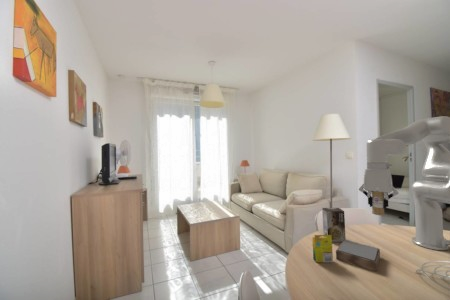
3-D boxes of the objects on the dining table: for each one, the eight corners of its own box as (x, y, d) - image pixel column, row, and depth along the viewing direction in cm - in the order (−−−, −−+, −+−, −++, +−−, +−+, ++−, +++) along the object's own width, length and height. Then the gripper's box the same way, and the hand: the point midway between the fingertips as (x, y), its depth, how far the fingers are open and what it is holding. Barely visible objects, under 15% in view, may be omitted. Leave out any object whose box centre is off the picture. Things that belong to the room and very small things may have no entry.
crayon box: (330, 259, 86) (329, 232, 86) (333, 262, 83) (332, 235, 83) (312, 258, 87) (312, 232, 87) (315, 262, 84) (314, 235, 84)
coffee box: (340, 236, 108) (339, 207, 108) (346, 242, 102) (345, 210, 102) (322, 236, 109) (321, 207, 109) (327, 241, 103) (326, 210, 103)
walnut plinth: (380, 257, 87) (379, 248, 87) (376, 271, 76) (376, 261, 76) (343, 247, 96) (343, 239, 96) (336, 259, 86) (336, 250, 86)
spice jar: (371, 214, 88) (371, 184, 88) (372, 212, 92) (371, 183, 92) (384, 216, 85) (384, 185, 85) (384, 214, 89) (384, 184, 89)
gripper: (402, 167, 86) (403, 208, 86) (356, 165, 97) (357, 202, 97) (402, 167, 80) (403, 212, 80) (353, 166, 92) (354, 205, 91)
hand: (378, 206), depth 89 cm, fingers closed on spice jar, 4 cm apart
